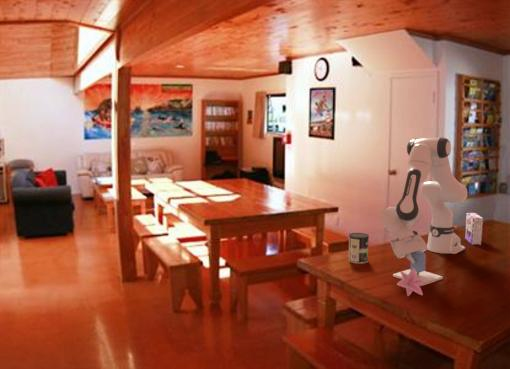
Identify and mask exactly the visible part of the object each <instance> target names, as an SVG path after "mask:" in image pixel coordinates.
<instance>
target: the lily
mask: <svg viewBox="0 0 510 369" xmlns="http://www.w3.org/2000/svg"><path fill="white" fill-rule="evenodd" d="M402 271H403V270H402ZM402 271H399V272H401V275H402V277H403V279H400V280H399V281H398V282H397V283H396V285H397V286H399V287H402V288H404V290H406V296H407V297H410V296H411V294H412V292H415V293H416V294H418V295H419V296H420V295H421V296H423V295H424V294H423V291H422V288H421V286H419V285H420V284H421V283H423V280H420V279H417V275H416V270H415V268H413V269H412V270H411V271H410V273H409V274H408V275H407V274H406V273H404V272H402Z"/></svg>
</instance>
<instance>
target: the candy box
mask: <svg viewBox="0 0 510 369" xmlns="http://www.w3.org/2000/svg"><path fill="white" fill-rule="evenodd" d="M483 223H484V217H482V216H481V215H479V214H478V213H476V212H466V215H465V236H464V239H465V240H466V241H467V242H468V243H469V244H470V245H472V246H474V245H476V246H482V238H483V226H484V224H483Z"/></svg>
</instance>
